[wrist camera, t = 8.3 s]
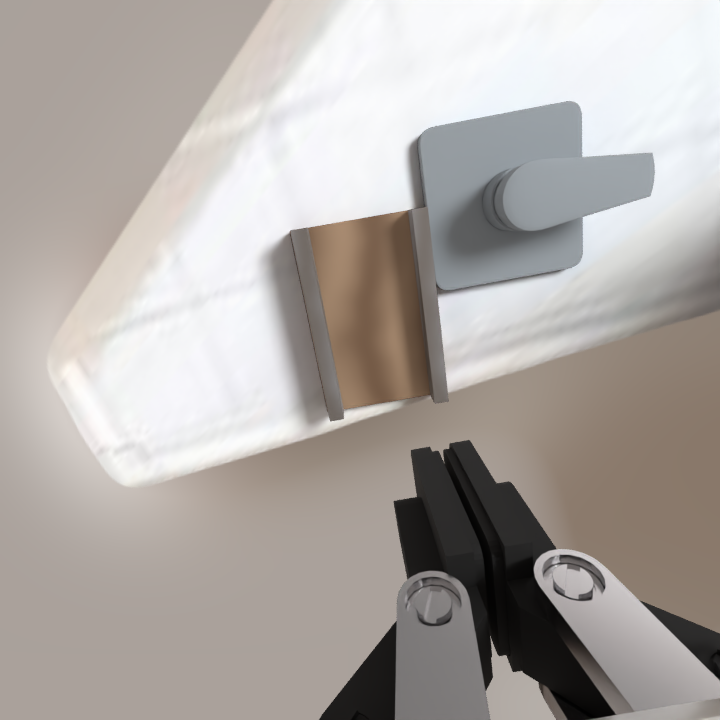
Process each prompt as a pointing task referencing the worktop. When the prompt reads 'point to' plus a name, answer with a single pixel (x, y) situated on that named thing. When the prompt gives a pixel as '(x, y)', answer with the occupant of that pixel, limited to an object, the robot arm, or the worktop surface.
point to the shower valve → (518, 193)
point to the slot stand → (373, 309)
